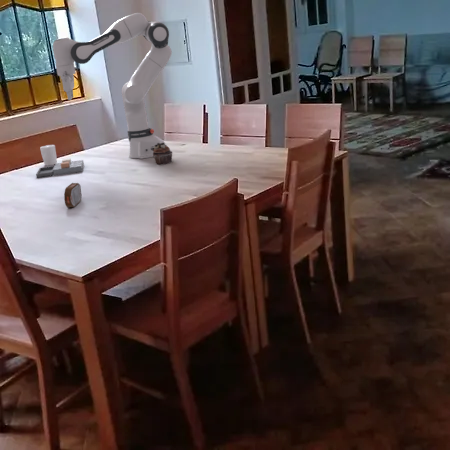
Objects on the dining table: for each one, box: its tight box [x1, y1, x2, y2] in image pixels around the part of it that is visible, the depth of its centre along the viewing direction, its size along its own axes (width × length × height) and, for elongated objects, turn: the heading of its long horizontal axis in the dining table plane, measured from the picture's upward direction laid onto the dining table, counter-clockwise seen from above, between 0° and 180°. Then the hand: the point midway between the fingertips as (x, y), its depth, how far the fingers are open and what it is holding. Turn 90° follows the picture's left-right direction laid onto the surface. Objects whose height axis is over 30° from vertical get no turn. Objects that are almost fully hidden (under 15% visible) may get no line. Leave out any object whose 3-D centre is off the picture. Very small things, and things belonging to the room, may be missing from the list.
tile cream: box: [61, 158, 72, 164], centre depth 332 cm, size 4×4×2 cm
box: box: [35, 165, 55, 179], centre depth 328 cm, size 8×16×2 cm, turn 9°
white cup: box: [39, 144, 58, 167], centre depth 350 cm, size 8×8×10 cm
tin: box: [63, 182, 83, 209], centre depth 260 cm, size 15×3×8 cm, turn 175°
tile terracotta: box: [60, 161, 70, 168], centre depth 324 cm, size 4×4×2 cm
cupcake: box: [153, 143, 173, 166], centre depth 320 cm, size 10×10×10 cm
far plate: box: [53, 159, 85, 177], centre depth 329 cm, size 14×16×3 cm
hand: (70, 98), depth 326 cm, fingers open, 8 cm apart
